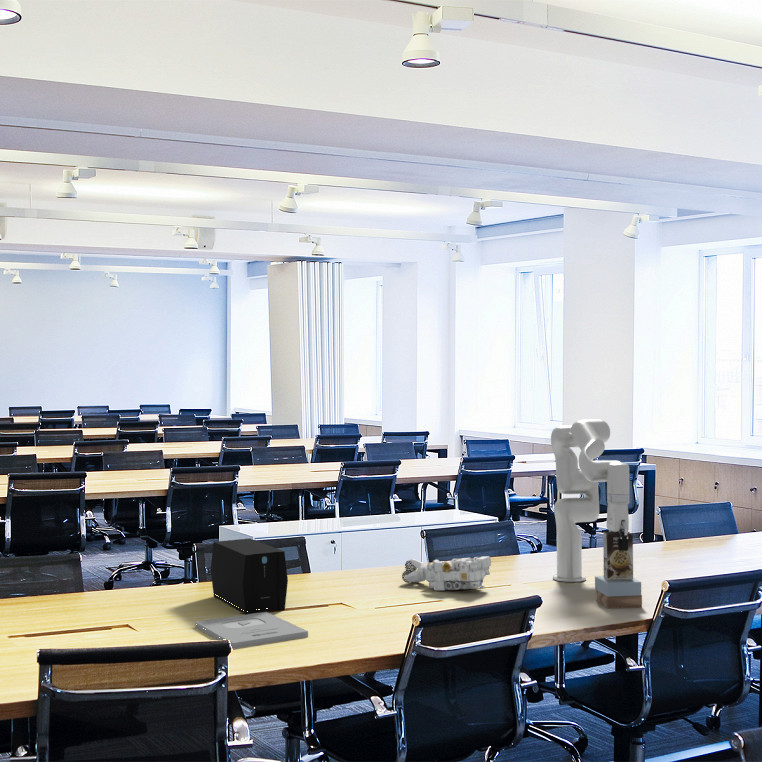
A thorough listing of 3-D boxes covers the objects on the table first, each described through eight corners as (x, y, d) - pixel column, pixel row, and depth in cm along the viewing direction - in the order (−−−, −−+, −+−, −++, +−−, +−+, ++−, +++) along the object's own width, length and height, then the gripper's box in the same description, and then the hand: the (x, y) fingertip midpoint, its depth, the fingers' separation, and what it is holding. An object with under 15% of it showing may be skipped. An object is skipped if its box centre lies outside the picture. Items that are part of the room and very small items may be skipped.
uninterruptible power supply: (242, 615, 326) (242, 555, 326) (209, 596, 355) (208, 541, 355) (288, 609, 334) (287, 551, 334) (251, 591, 363) (251, 537, 363)
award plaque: (232, 650, 285) (232, 643, 285) (195, 628, 311) (195, 621, 311) (308, 638, 298) (308, 631, 298) (266, 618, 324) (266, 611, 324)
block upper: (595, 589, 344) (594, 576, 344) (627, 588, 346) (627, 575, 346) (607, 596, 332) (607, 583, 332) (641, 595, 334) (641, 582, 334)
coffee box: (607, 581, 336) (606, 534, 336) (603, 577, 342) (602, 531, 342) (634, 580, 336) (633, 533, 336) (629, 576, 342) (628, 530, 342)
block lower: (596, 601, 345) (596, 589, 345) (629, 600, 346) (629, 588, 346) (607, 609, 333) (607, 596, 333) (642, 608, 334) (641, 595, 334)
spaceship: (480, 593, 351) (476, 560, 352) (394, 593, 368) (392, 561, 369) (497, 585, 365) (494, 553, 365) (414, 585, 382) (411, 555, 383)
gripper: (599, 495, 348) (599, 544, 348) (616, 502, 331) (616, 552, 331) (620, 495, 348) (620, 543, 349) (637, 501, 331) (637, 552, 331)
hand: (618, 548), depth 340 cm, fingers open, 9 cm apart
